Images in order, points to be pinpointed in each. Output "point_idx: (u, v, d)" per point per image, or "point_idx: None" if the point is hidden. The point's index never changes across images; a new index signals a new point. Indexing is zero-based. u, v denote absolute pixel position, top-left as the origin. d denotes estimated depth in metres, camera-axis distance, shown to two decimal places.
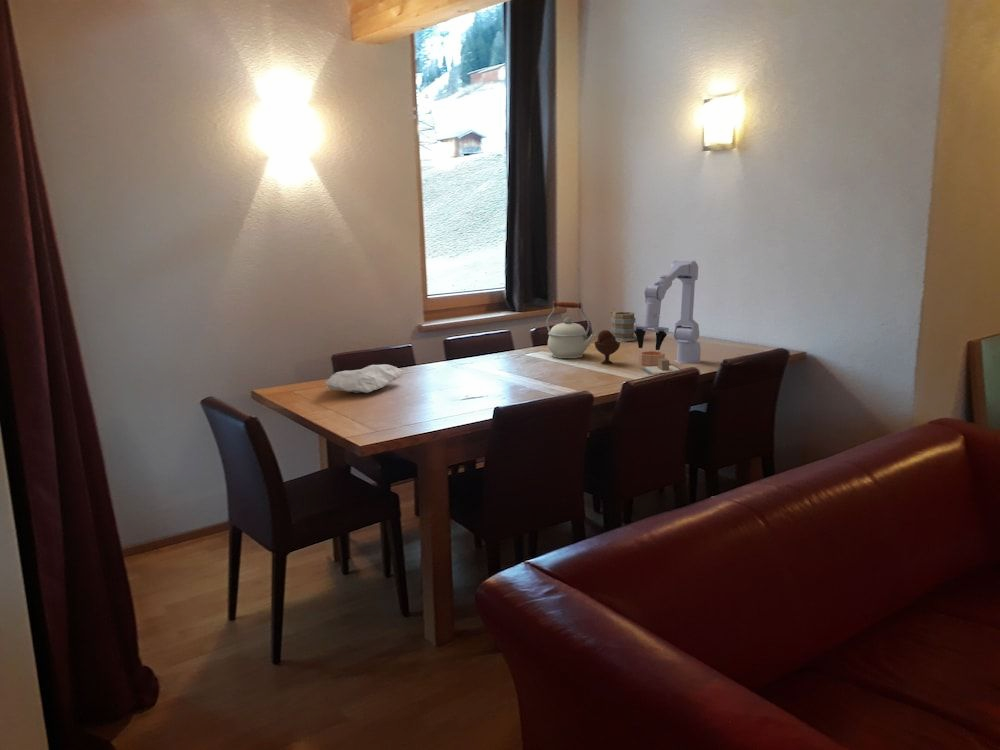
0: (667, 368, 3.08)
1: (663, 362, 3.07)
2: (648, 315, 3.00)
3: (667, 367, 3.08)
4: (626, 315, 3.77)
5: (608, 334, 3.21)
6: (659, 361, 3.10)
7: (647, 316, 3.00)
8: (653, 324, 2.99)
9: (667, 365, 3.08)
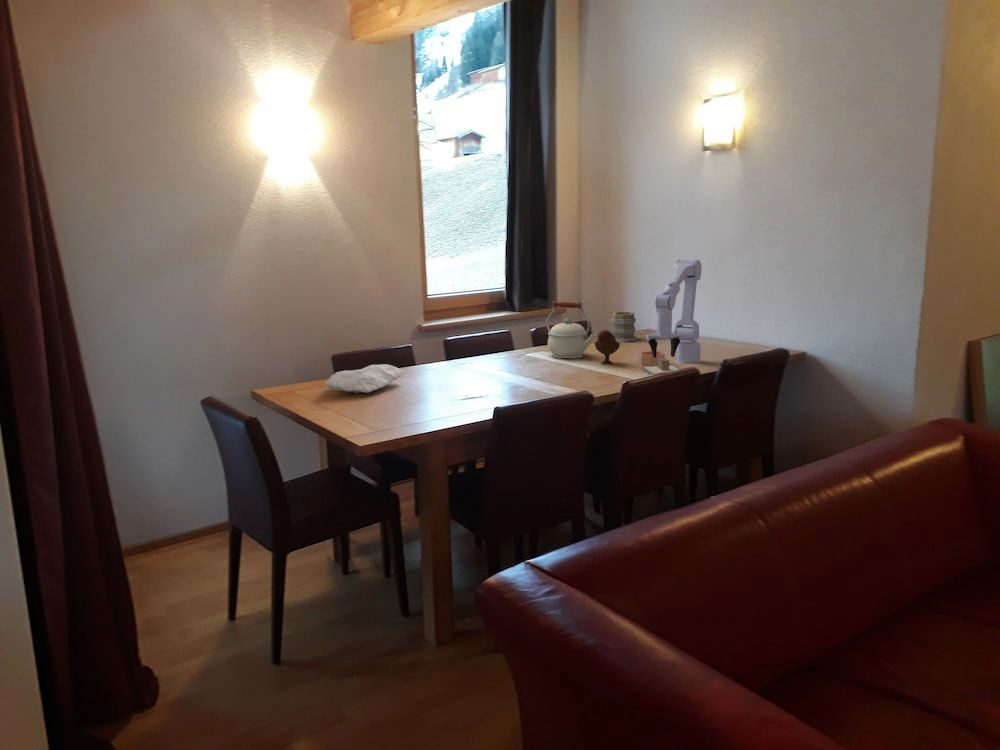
0: (667, 368, 3.08)
1: (663, 362, 3.07)
2: (666, 325, 3.04)
3: (667, 367, 3.08)
4: (626, 315, 3.77)
5: (608, 334, 3.21)
6: (659, 361, 3.10)
7: (665, 326, 3.04)
8: (670, 333, 3.05)
9: (667, 365, 3.08)
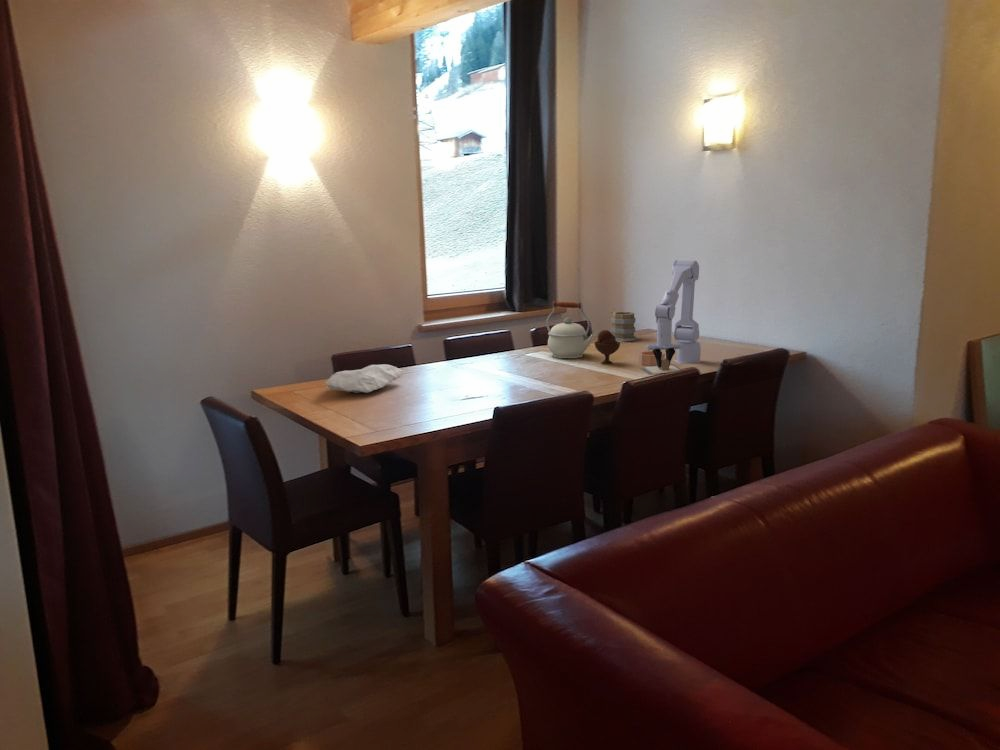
0: (667, 368, 3.08)
1: (663, 362, 3.07)
2: (666, 335, 3.04)
3: (667, 367, 3.08)
4: (626, 315, 3.77)
5: (608, 334, 3.21)
6: None
7: (665, 336, 3.05)
8: (670, 343, 3.06)
9: (667, 365, 3.08)
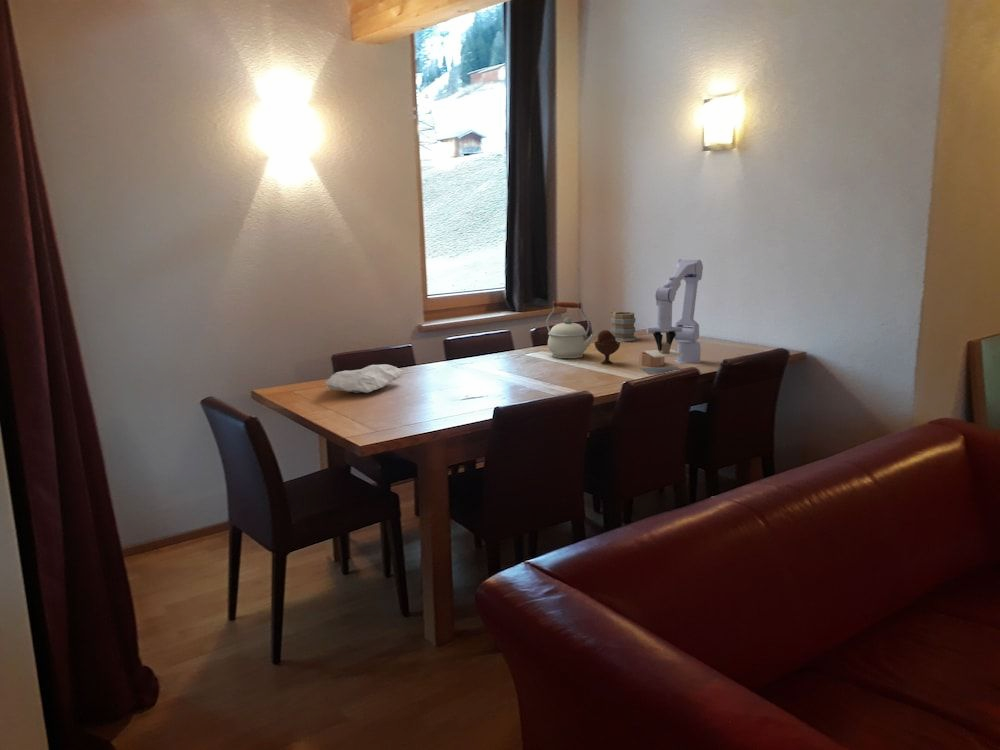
0: (668, 351, 3.06)
1: (664, 345, 3.05)
2: (666, 318, 3.03)
3: (668, 350, 3.06)
4: (626, 315, 3.77)
5: (608, 334, 3.21)
6: None
7: (665, 319, 3.03)
8: (670, 326, 3.05)
9: (668, 348, 3.06)
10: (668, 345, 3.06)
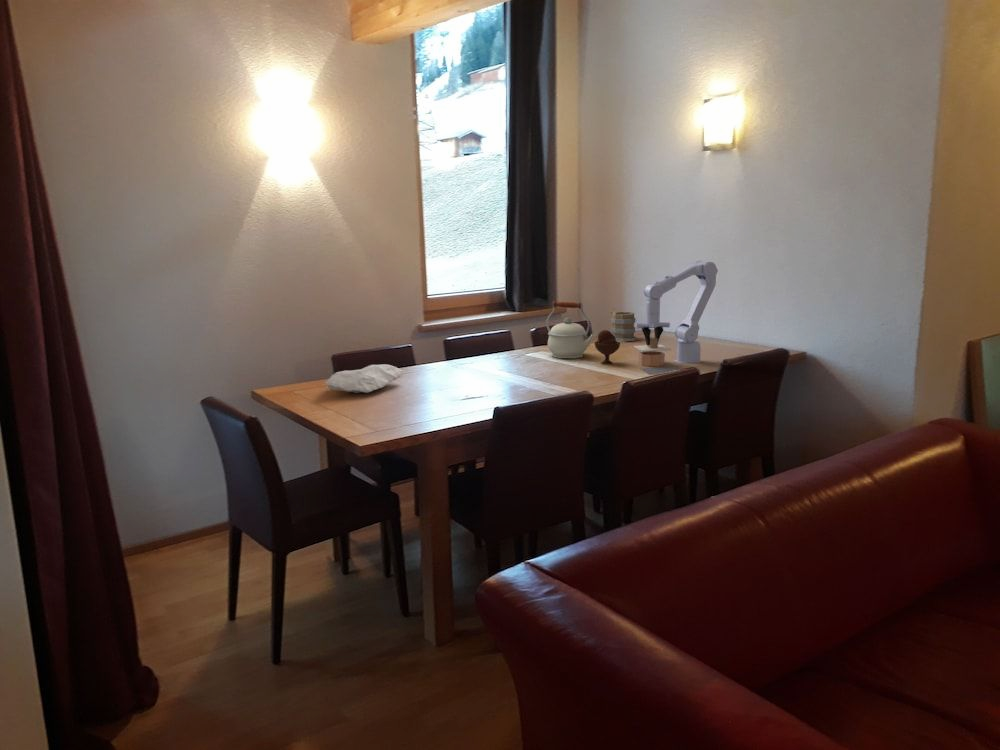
0: (656, 346, 3.20)
1: (652, 340, 3.19)
2: (654, 314, 3.16)
3: (656, 345, 3.19)
4: (626, 315, 3.77)
5: (608, 334, 3.21)
6: None
7: (653, 315, 3.17)
8: (658, 322, 3.18)
9: (656, 343, 3.19)
10: (656, 340, 3.19)
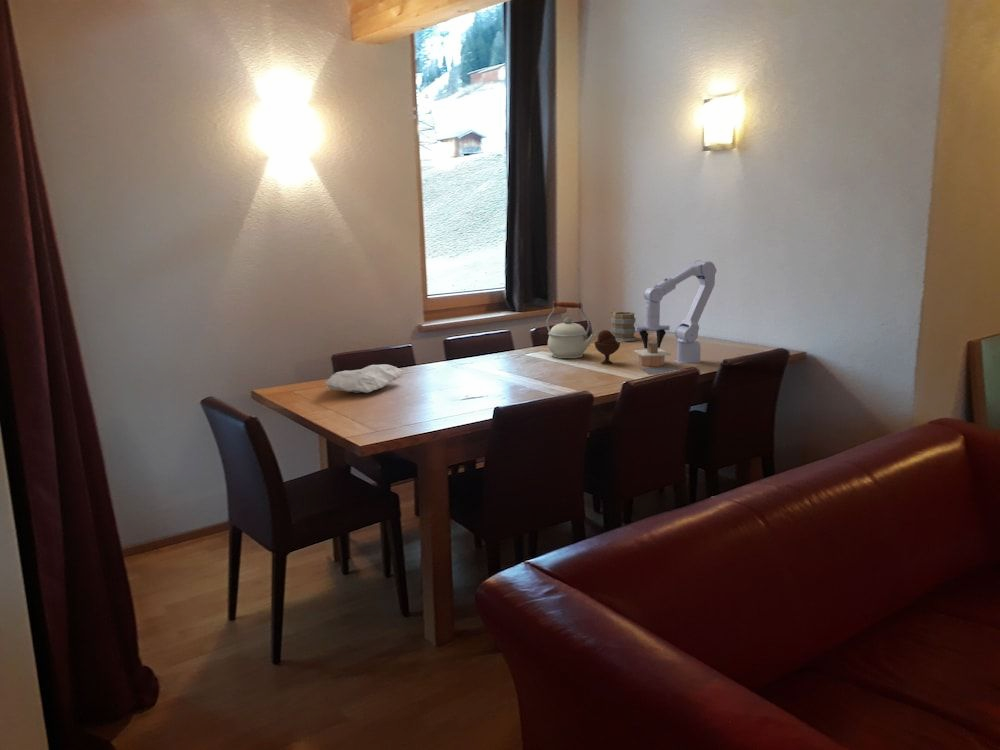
0: (656, 351, 3.20)
1: (652, 345, 3.19)
2: (654, 317, 3.17)
3: (656, 350, 3.20)
4: (626, 315, 3.77)
5: (608, 334, 3.21)
6: (648, 344, 3.22)
7: (653, 318, 3.17)
8: (658, 325, 3.19)
9: (656, 348, 3.20)
10: (656, 345, 3.19)
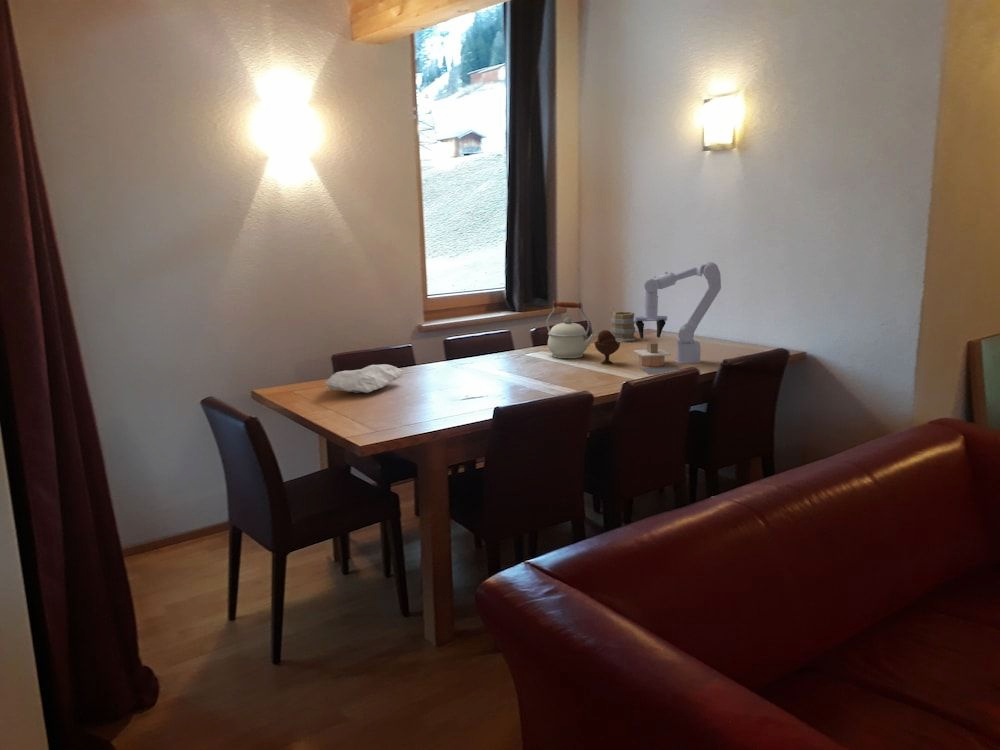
0: (656, 351, 3.20)
1: (652, 345, 3.19)
2: (652, 307, 3.24)
3: (656, 350, 3.20)
4: (626, 315, 3.77)
5: (608, 334, 3.21)
6: (648, 344, 3.22)
7: (651, 308, 3.24)
8: (656, 315, 3.26)
9: (656, 348, 3.20)
10: (656, 345, 3.19)
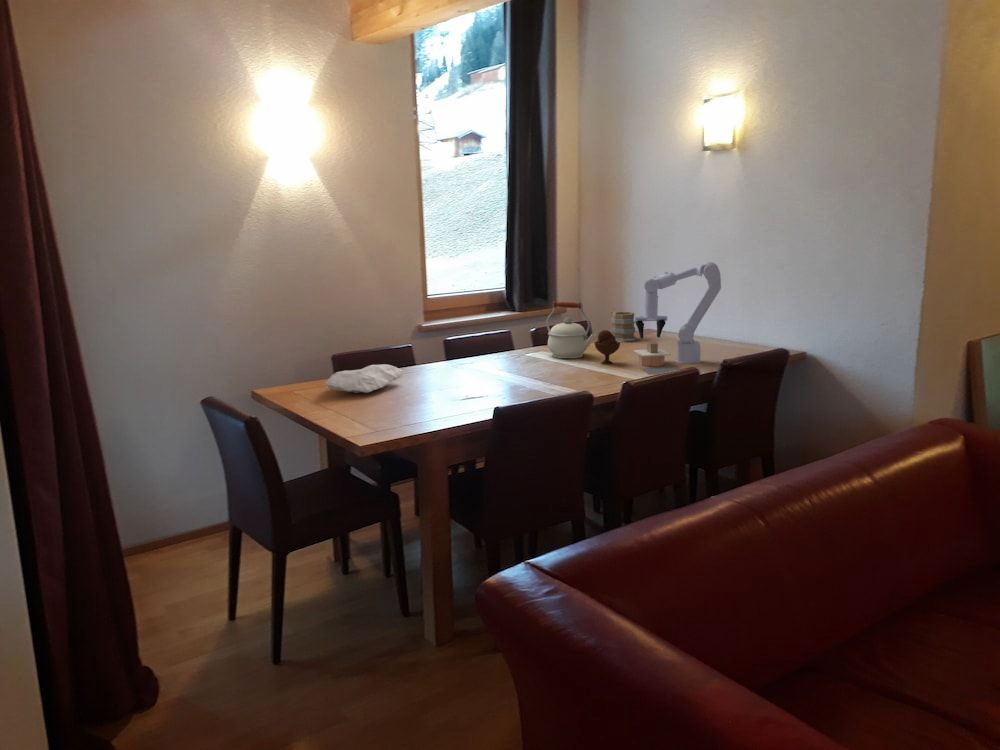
0: (656, 351, 3.20)
1: (652, 345, 3.19)
2: (652, 307, 3.24)
3: (656, 350, 3.20)
4: (626, 315, 3.77)
5: (608, 334, 3.21)
6: (648, 344, 3.22)
7: (651, 308, 3.24)
8: (656, 315, 3.26)
9: (656, 348, 3.20)
10: (656, 345, 3.19)
